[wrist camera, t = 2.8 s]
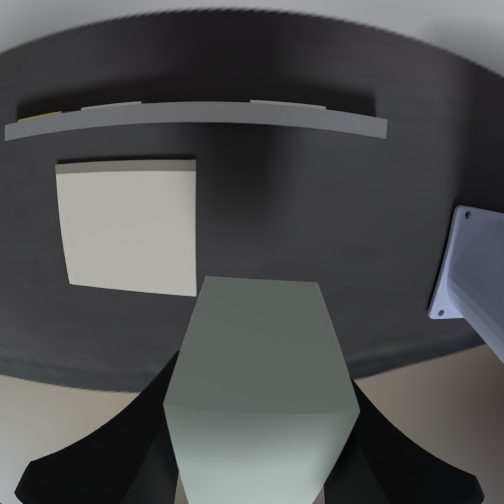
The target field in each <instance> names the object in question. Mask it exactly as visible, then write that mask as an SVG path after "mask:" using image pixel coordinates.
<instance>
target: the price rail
mask: <svg viewBox="0 0 504 504" xmlns="http://www.w3.org/2000/svg"><path fill="white" fill-rule="evenodd" d="M159 123H233V124H256V125H272V126H285V127H296V128H306V129H316V130H324V131H332V132H340V133H347V134H354V135H360V136H367V137H373V138H382V139H386V132H387V119H382V118H376V117H371V116H365V115H360V114H353V113H347V112H341V111H334V110H326V107H324V106H316V105H308V104H298V103H288V102H276V101H261V100H250V103H245V102H167V103H146V102H142V101H139V102H127V103H117V104H108V105H99V106H92V107H84V108H81V111H74V112H71V111H60V112H54V113H49V114H44V115H39V116H34V117H29V118H25V119H21V120H18V122H17V123H13V124H9V125H5V141H8V140H14V139H21V138H26V137H32V136H38V135H44V134H50V133H57V132H64V131H72V130H80V129H89V128H99V127H110V126H122V125H138V124H159Z"/></svg>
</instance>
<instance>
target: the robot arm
mask: <svg viewBox="0 0 504 504" xmlns="http://www.w3.org/2000/svg"><path fill="white" fill-rule="evenodd" d="M467 211H468V214H467V216H466V217H465V214H466V212H467ZM440 310H441V312H440V313H439V311H440ZM428 316H429V317H430V318H431V319H445V318H465V319H466V320H467V321H468V322H469V324H470V325H471V326H472V327H473V328H474V329H475V330H476V331H477V333H478V334H479V335H480V336H481V337H482V338H483V339H484V341H485V342H486V343H487V344H488V345H489V346H490V348H491V349H492V350H493V351H494V352H495V353H496V355H497V356H498V357H499V358H500V359H501V361H502V362H503V363H504V213H499V212H494V211H489V210H484V209H479V208H474V207H469V206H463V205H459V206H457V207H456V208H455V210H454V214H453V219H452V224H451V229H450V234H449V238H448V242H447V247H446V251H445V255H444V259H443V262H442V266H441V270H440V273H439V277H438V281H437V284H436V287H435V291H434V294H433V297H432V300H431V303H430V306H429V309H428ZM179 353H180V351H177V352H176V353H175V354H174V355H173V357H172V358H171V359H170V360H169V362H168V363H167V364H166V365H165V367H164V368H163V369H162V370H161V371H160V373H159V374H158V375H157V376H156V377H155V378H154V379H153V381H152V382H151V383H150V384H149V385H148V386H147V387H146V388H145V389H144V390H143V391H142V392H141V393H140V394H139V395H138V396H137V397H136V398H135V399H134V400H133V401H132V402H131V403H130V404H129V405H128V406H127V407H126V408H125V409H123V410H122V411H121V412H120V413H119V414H117V415H116V416H115V417H114V418H112V419H111V420H110V421H108V422H107V423H106V424H104V425H103V426H101V427H100V428H99V429H97V430H96V431H94V432H93V433H91V434H89V435H88V436H86V437H84V438H83V439H81V440H79V441H77V442H75V443H73V444H72V445H70V446H68V447H66V448H64V449H62V450H60V451H58V452H55V453H52V454H50V455H47V456H45V457H42V458H39V459H37V460H34V461H31V462H30V463H29V465H28V466H27V468H26V469H25V471H24V473H23V475H22V478H21V480H20V482H19V484H18V486H17V488H16V490H15V492H14V493H15V495H16V497H17V498H18V499H19V500H20V501H21V502H22V503H23V504H174V500H175V493H176V486H177V480H178V474H179V468H178V465H177V461H176V457H175V453H174V449H173V445H172V441H171V437H170V433H169V429H168V424H167V420H166V415H165V411H164V406H163V403H164V400H165V396H166V393H167V390H168V387H169V384H170V381H171V377H172V374H173V371H174V368H175V365H176V362H177V359H178V356H179ZM349 376H350V375H349ZM350 380H351V383H352V386H353V389H354V392H355V396H356V399H357V402H358V405H359V409H360V413H359V415H358V418H357V420H356V422H355V424H354V426H353V428H352V431H351V433H350V435H349V437H348V439H347V441H346V443H345V445H344V447H343V449H342V451H341V453H340V455H339V457H338V459H337V461H336V463H335V465H334V466H333V468H332V470H331V472H330V474H329V476H328V477H327V479H326V481H325V483H324V495H325V504H481V503H482V502H483V500H484V494H483V492H482V489H481V487H480V484H479V482H478V480H477V478H476V476H474V475H472V474H469V473H467V472H465V471H462V470H460V469H458V468H456V467H454V466H451V465H450V464H448V463H446V462H444V461H442V460H440V459H439V458H437V457H435V456H434V455H432V454H430V453H429V452H427V451H426V450H424V449H423V448H421V447H420V446H419V445H417V444H416V443H414V442H413V441H412V440H410V439H409V438H408V437H406V436H405V435H404V434H403V433H402V432H401V431H399V430H398V429H397V428H396V427H395V426H394V425H393V424H392V423H390V422H389V421H388V420H387V419H386V418H385V417H384V416H383V415H382V413H381V412H380V411H379V410H378V409H377V408H376V407H375V406H374V405H373V404H372V403H371V401H370V400H369V399H368V398H367V397H366V395H365V394H364V393H363V392H362V391H361V389H360V388H359V387H358V386H357V384H356V383H355V382H354V381H353V379H352V378H351V377H350ZM0 504H1V503H0Z"/></svg>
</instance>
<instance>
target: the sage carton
mask: <svg viewBox="0 0 504 504" xmlns="http://www.w3.org/2000/svg"><path fill="white" fill-rule="evenodd" d="M163 406H164V411H165V415H166V420H167V424H168V429H169V433H170V437H171V441H172V445H173V449H174V453H175V457H176V461H177V465H178V468H179V472H180V475H181V479H182V483H183V486H184V490H185V493H186V496H187V499H188V503H189V504H312V503H313V502H314V500H315V498H316V497H317V495H318V493H319V492H320V490H321V488H322V486H323V485H324V483H325V481H326V479H327V477H328V476H329V474H330V472H331V470H332V468H333V466H334V465H335V463H336V461H337V459H338V457H339V455H340V453H341V451H342V449H343V447H344V445H345V443H346V441H347V439H348V437H349V435H350V433H351V431H352V428H353V426H354V424H355V422H356V420H357V418H358V415H359V413H360V409H359V405H358V402H357V399H356V396H355V392H354V389H353V386H352V383H351V380H350V376H349V373H348V370H347V367H346V364H345V361H344V358H343V355H342V352H341V349H340V346H339V343H338V340H337V337H336V334H335V331H334V328H333V325H332V322H331V319H330V316H329V313H328V310H327V308H326V305H325V302H324V299H323V296H322V294H321V291H320V288H319V285H318V282H297V281H278V280H260V279H243V278H227V277H212V276H206V277H205V280H204V283H203V286H202V288H201V291H200V294H199V297H198V300H197V303H196V306H195V309H194V311H193V314H192V317H191V320H190V323H189V326H188V329H187V332H186V335H185V338H184V341H183V344H182V347H181V350H180V353H179V356H178V359H177V362H176V365H175V368H174V371H173V374H172V377H171V381H170V384H169V387H168V390H167V393H166V396H165V400H164V403H163Z"/></svg>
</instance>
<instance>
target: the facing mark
mask: <svg viewBox="0 0 504 504" xmlns="http://www.w3.org/2000/svg"><path fill="white" fill-rule="evenodd" d="M55 166H56V179H57V194H58V206H59V216H60V225H61V233H62V240H63V247H64V253H65V260H66V265H67V271H68V276H69V282H70V284H76V285H84V286H93V287H102V288H111V289H120V290H130V291H140V292H150V293H161V294H173V295H185V296H196V295H197V288H196V166H197V160H121V161H98V162H81V163H67V164H57V165H55Z"/></svg>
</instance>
